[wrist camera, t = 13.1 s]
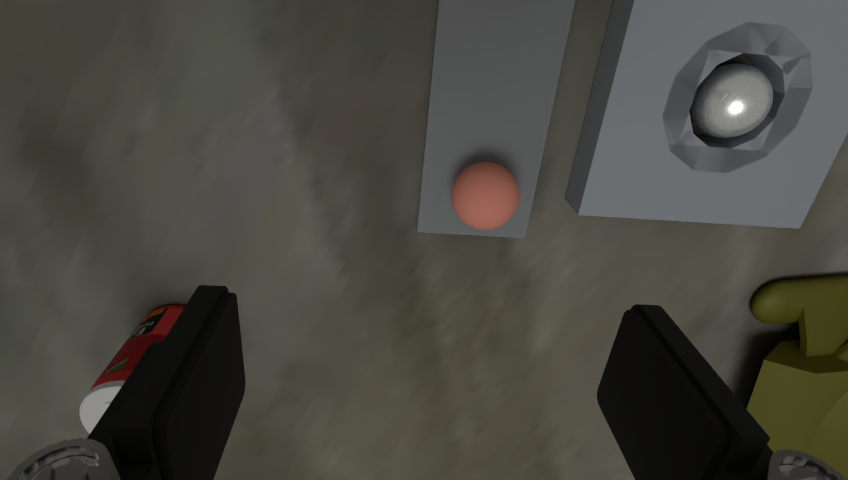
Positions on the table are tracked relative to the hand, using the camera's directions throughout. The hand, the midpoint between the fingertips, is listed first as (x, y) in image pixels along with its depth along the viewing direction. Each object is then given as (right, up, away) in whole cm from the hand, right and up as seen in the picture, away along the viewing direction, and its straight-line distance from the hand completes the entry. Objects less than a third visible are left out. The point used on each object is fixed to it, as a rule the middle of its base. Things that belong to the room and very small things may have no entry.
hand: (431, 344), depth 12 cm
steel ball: (+23, +13, +26) cm, 37 cm away
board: (+23, +15, +28) cm, 39 cm away
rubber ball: (+5, +6, +28) cm, 29 cm away
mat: (+5, +16, +26) cm, 31 cm away
